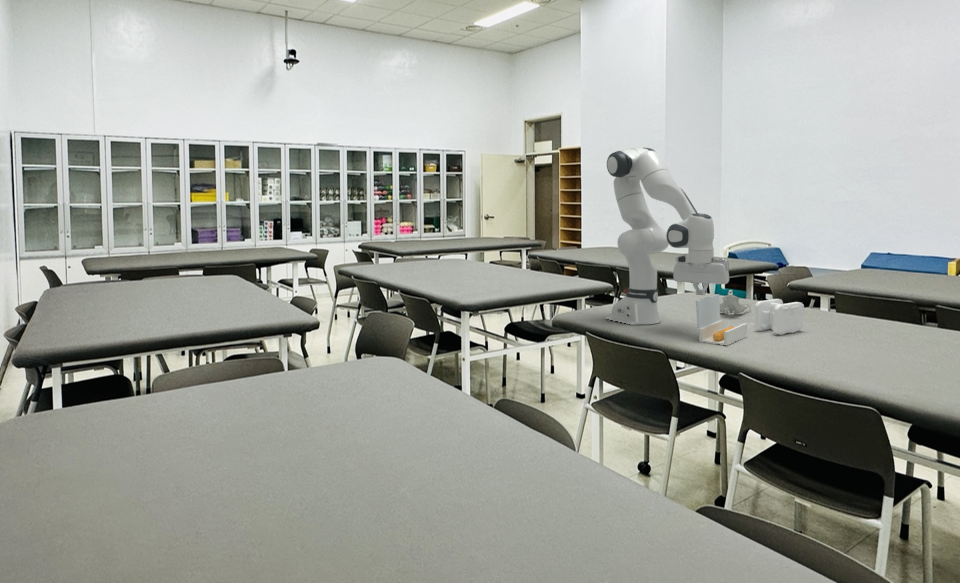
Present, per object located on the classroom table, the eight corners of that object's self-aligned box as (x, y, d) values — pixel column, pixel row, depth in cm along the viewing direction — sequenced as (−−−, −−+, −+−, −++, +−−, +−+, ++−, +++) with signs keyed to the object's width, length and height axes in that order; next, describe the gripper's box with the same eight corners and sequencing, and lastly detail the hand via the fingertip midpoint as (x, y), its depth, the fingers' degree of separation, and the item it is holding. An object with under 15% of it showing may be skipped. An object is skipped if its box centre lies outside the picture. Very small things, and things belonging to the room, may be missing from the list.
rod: (712, 342, 227) (710, 334, 227) (730, 334, 239) (728, 326, 239) (720, 340, 225) (718, 332, 225) (738, 332, 237) (736, 325, 237)
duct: (699, 342, 230) (699, 328, 229) (720, 333, 243) (720, 320, 242) (726, 346, 223) (727, 332, 222) (746, 336, 236) (747, 323, 235)
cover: (699, 328, 229) (697, 328, 229) (720, 320, 242) (718, 320, 242) (698, 301, 228) (695, 300, 228) (719, 294, 241) (716, 294, 241)
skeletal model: (750, 310, 286) (753, 278, 266) (749, 328, 281) (752, 297, 261) (712, 308, 292) (712, 276, 272) (711, 325, 287) (711, 294, 267)
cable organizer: (779, 326, 251) (780, 297, 249) (803, 331, 242) (805, 301, 240) (753, 331, 244) (754, 301, 242) (777, 336, 235) (779, 305, 233)
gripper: (732, 257, 230) (731, 295, 231) (679, 256, 244) (679, 291, 245) (725, 259, 225) (724, 298, 227) (671, 257, 239) (671, 294, 241)
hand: (700, 294), depth 236 cm, fingers closed
